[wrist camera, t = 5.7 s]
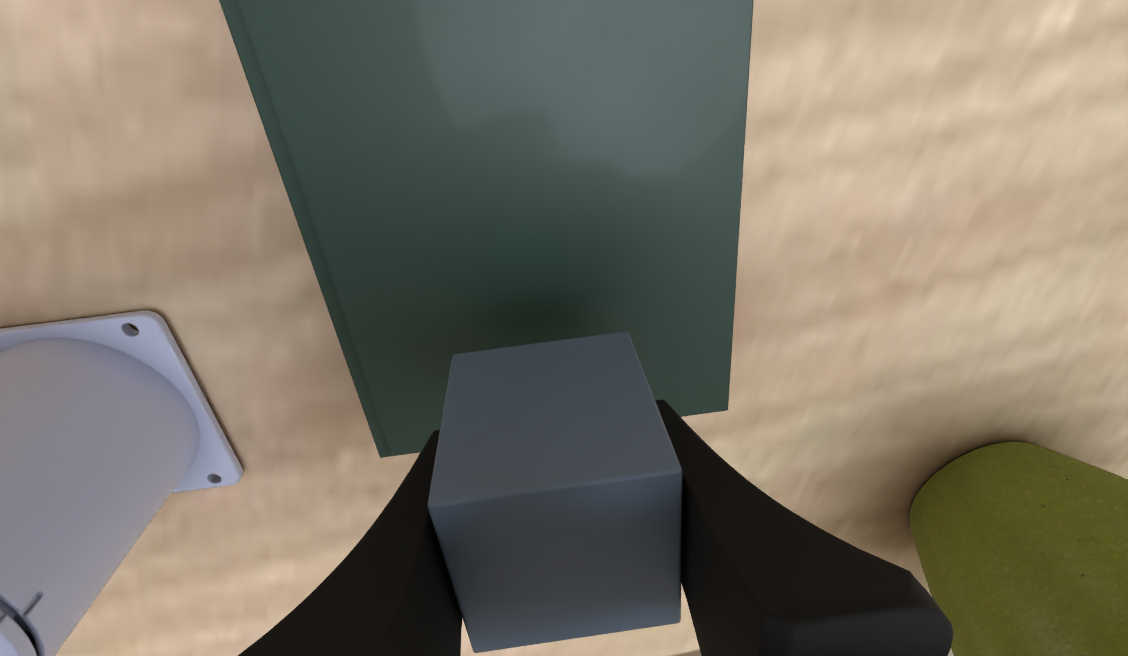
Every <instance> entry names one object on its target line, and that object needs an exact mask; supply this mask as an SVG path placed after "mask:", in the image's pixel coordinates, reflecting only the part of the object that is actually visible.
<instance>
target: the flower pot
mask: <svg viewBox="0 0 1128 656" xmlns="http://www.w3.org/2000/svg"><path fill="white" fill-rule="evenodd" d="M909 524H910V528H911V531H912V535H913V538H914V542H915V545H916V549H917V552H918V555H919V558H920V562H921V565H922V568H923V571H924V574H925V577H926V580H927V583H928V586H929V589H930V592H931V595H932V598H933V599H934V600H935V602H936V603H937V604H938V606H939V607H940V609H941V610H942V611H943V613H944V614H945V615H946V617H947V618H948V619H949V621H950V622H951V625H952V628H953V632H954V635H953V640H952V644H951V649H952V652H953V654H954V656H1128V479H1125V478H1123V477H1121V476H1118V475H1116V474H1113V473H1111V472H1108V471H1106V470H1103V469H1101V468H1098V467H1095V466H1093V465H1090V464H1087V463H1085V462H1082V461H1079V460H1077V459H1074V458H1071V457H1069V456H1066V455H1063V454H1061V453H1058V452H1056V451H1053V450H1050V449H1047V448H1044V447H1041V446H1039V445H1036V444H1032V443H1026V442H1003V443H996V444H992V445H988V446H985V447H982V448H979V449H976V450H973V451H971V452H969V453H967V454H965V455H962V456H960V457H959V458H957V459H955V460H953V461H952V462H950V463H949V464H947V465H946V466H945V467H943V468H942V469H940V470H939V471H938V472H936V473H935V474H934V475H933V476H932V477H931V478H930V479H929V480H928V481H927V482H926V483H925V484H924V486H923V487H922V488H921V489H920V491H919V492H918V493H917V495H916V497H915V499H914V500H913V503H912V506H911V508H910V513H909Z"/></svg>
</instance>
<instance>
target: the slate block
mask: <svg viewBox="0 0 1128 656" xmlns="http://www.w3.org/2000/svg"><path fill="white" fill-rule="evenodd" d="M428 509H429V512H430V515H431V519H432V522H433V525H434V528H435V531H436V534H437V538H438V541H439V544H440V547H441V550H442V554H443V557H444V560H445V563H446V566H447V569H448V573H449V576H450V579H451V582H452V585H453V588H454V592H455V595H456V598H457V601H458V604H459V608H460V611H461V614H462V617H463V620H464V623H465V627H466V630H467V633H468V636H469V639H470V642H471V646H472V649H473V652H475V653H479V652H486V651H493V650H500V649H506V648H513V647H520V646H527V645H533V644H540V643H547V642H554V641H560V640H567V639H574V638H581V637H587V636H594V635H601V634H608V633H614V632H621V631H628V630H635V629H641V628H648V627H655V626H662V625H668V624H675V623H679V622H680V620H681V533H682V469H681V466H680V463H679V461H678V458H677V456H676V453H675V451H674V448H673V445H672V443H671V440H670V438H669V435H668V433H667V430H666V427H665V425H664V422H663V420H662V417H661V415H660V412H659V409H658V407H657V404H656V402H655V399H654V397H653V394H652V391H651V389H650V386H649V384H648V381H647V379H646V376H645V373H644V371H643V368H642V366H641V363H640V361H639V358H638V355H637V353H636V350H635V348H634V345H633V343H632V340H631V338H630V335H629V333H628V332H619V333H611V334H604V335H596V336H588V337H581V338H573V339H566V340H558V341H551V342H543V343H535V344H528V345H520V346H513V347H505V348H497V349H490V350H482V351H475V352H467V353H460V354H454V355H453V356H452V361H451V367H450V373H449V379H448V385H447V391H446V397H445V403H444V409H443V415H442V421H441V427H440V433H439V439H438V445H437V451H436V457H435V463H434V469H433V475H432V481H431V487H430V493H429V499H428Z"/></svg>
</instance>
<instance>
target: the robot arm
mask: <svg viewBox="0 0 1128 656" xmlns="http://www.w3.org/2000/svg"><path fill="white" fill-rule="evenodd" d="M129 323H131V324H133V325H135V326H136V327H137V328H138V331H136V330H134V329H132V328H131V327H130V326H129ZM655 402H656V404H657V407H658V409H659V412H660V415H661V417H662V420H663V422H664V425H665V427H666V430H667V433H668V435H669V438H670V440H671V443H672V445H673V448H674V451H675V453H676V456H677V458H678V461H679V463H680V466H681V469H682V533H681V583H682V586H683V589H684V592H685V595H686V599H687V602H688V606H689V610H690V613H691V617H692V621H693V625H694V628H695V632H696V636H697V639H698V643H699V647H700V651H701V655H702V656H947V655H948V653H949V651H950V648H951V644H952V640H953V635H954V632H953V628H952V625H951V622H950V621H949V619H948V618H947V617H946V615H945V614H944V613H943V611H942V610H941V609H940V607H939V606H938V604H937V603H936V602H935V600H934V599H933V598H932V597H931V595H930V594H929V593H928V592H927V590H926V589H925V588H924V587H923V586H922V585H921V584H920V583H919V582H918V580H917V579H916V578H915V577H914V576H913V575H912V573H911V572H910V571H908V570H906V569H904V568H901V567H899V566H897V565H895V564H892V563H890V562H888V561H885V560H883V559H881V558H879V557H876V556H874V555H872V554H870V553H867V552H865V551H863V550H861V549H859V548H857V547H855V546H853V545H851V544H849V543H847V542H845V541H843V540H841V539H839V538H837V537H835V536H833V535H831V534H829V533H827V532H826V531H824V530H822V529H820V528H819V527H817V526H815V525H813V524H812V523H810V522H808V521H807V520H805V519H803V518H802V517H800V516H798V515H797V514H795V513H793V512H792V511H790V510H788V509H787V508H785V507H784V506H782V505H781V504H779V503H778V502H776V501H775V500H773V499H772V498H771V497H769V496H768V495H767V494H765V493H764V492H762V491H761V490H760V489H758V488H757V487H756V486H754V485H753V484H752V483H751V482H749V481H748V480H747V479H746V478H744V477H743V476H742V475H741V474H739V473H738V472H737V471H736V470H735V469H734V468H732V467H731V466H730V465H729V464H728V463H727V462H725V461H724V460H723V459H722V458H721V457H720V456H719V455H718V454H717V453H716V452H715V451H714V450H712V449H711V448H710V447H709V446H708V445H707V444H706V443H705V442H704V441H703V440H702V439H701V438H700V437H699V436H698V435H697V434H696V433H695V432H694V431H693V430H692V429H691V428H690V427H689V426H688V425H687V423H686V422H685V421H684V420H683V419H682V418H681V417H680V416H679V415H678V414H677V412H676V411H675V410H674V409H673V408H672V407H671V406H670V404H669V403H668V402H667V401H665V400H664V399H662V400H655ZM439 433H440V430H434V431H433V433H432V434H431V435H430V437H429V439H428V441H427V442H426V444H425V446H424V448H423V449H422V451H421V453H420V455H419V456H418V458H417V460H416V461H415V463H414V465H413V466H412V468H411V470H410V471H409V473H408V474H407V476H406V477H405V479H404V480H403V482H402V484H401V485H400V487H399V488H398V490H397V491H396V493H395V494H394V496H393V497H392V499H391V500H390V502H389V503H388V504H387V506H386V507H385V508H384V510H383V511H382V513H381V514H380V515H379V517H378V518H377V520H376V521H375V522H374V524H373V525H372V526H371V528H370V529H369V530H368V531H367V533H366V534H365V535H364V536H363V538H362V539H361V540H360V541H359V543H358V544H357V545H356V546H355V547H354V548H353V550H352V551H351V552H350V553H349V554H348V555H347V557H346V558H345V559H344V560H343V561H342V562H341V563H340V564H339V565H338V566H337V567H336V569H335V570H334V571H333V572H332V573H331V574H330V575H329V576H328V577H327V578H326V579H325V580H324V581H323V582H322V583H321V584H320V585H319V586H318V587H317V588H316V589H315V590H314V591H313V592H312V593H311V594H310V595H309V596H308V597H307V598H306V599H305V600H304V601H303V602H301V603H300V604H299V605H298V606H297V607H296V608H295V609H294V610H293V611H292V612H290V613H289V614H288V615H287V616H286V617H285V618H284V619H282V620H281V621H280V622H279V623H278V624H277V625H276V626H274V627H273V628H272V629H271V630H270V631H268V632H267V633H266V634H265V635H264V636H262V637H261V638H260V639H259V640H257V641H256V642H255V643H254V644H252V645H251V646H250V647H248V648H247V649H246V650H245V651H243V652H242V653H241V654H239V655H238V656H460V652H461V627H462V614H461V611H460V608H459V604H458V601H457V598H456V595H455V592H454V588H453V585H452V582H451V579H450V576H449V573H448V569H447V566H446V563H445V560H444V557H443V554H442V550H441V547H440V544H439V541H438V538H437V534H436V531H435V528H434V525H433V522H432V519H431V515H430V512H429V509H428V499H429V493H430V487H431V481H432V475H433V469H434V463H435V457H436V451H437V445H438V439H439ZM214 474H216V475H219V476H216V475H214ZM242 476H243V469H242V467H241V465H240V463H239V461H238V459H237V457H236V456H235V454H234V452H233V450H232V448H231V446H230V444H229V442H228V440H227V438H226V436H225V435H224V433H223V431H222V429H221V427H220V425H219V423H218V421H217V419H216V417H215V415H214V414H213V412H212V410H211V408H210V406H209V404H208V402H207V400H206V398H205V396H204V394H203V393H202V391H201V389H200V387H199V385H198V383H197V381H196V379H195V377H194V375H193V374H192V372H191V370H190V368H189V366H188V364H187V362H186V360H185V358H184V356H183V354H182V353H181V351H180V349H179V347H178V345H177V343H176V341H175V339H174V337H173V335H172V333H171V332H170V330H169V328H168V326H167V324H166V322H165V320H164V319H163V318H162V317H161V316H160V315H158V314H157V313H155V312H152V311H136V312H128V313H120V314H112V315H104V316H97V317H89V318H81V319H73V320H65V321H57V322H49V323H41V324H33V325H25V326H18V327H10V328H2V329H0V656H55V655H56V653H57V652H58V651H59V649H60V648H61V646H62V645H63V644H64V642H65V641H66V639H67V638H68V637H69V635H70V634H71V632H72V631H73V630H74V628H75V627H76V625H77V624H78V623H79V621H80V620H81V618H82V617H83V616H84V614H85V613H86V611H87V610H88V609H89V607H90V606H91V604H92V603H93V602H94V600H95V599H96V597H97V596H98V595H99V593H100V592H101V590H102V589H103V588H104V586H105V585H106V583H107V582H108V581H109V579H110V578H111V576H112V575H113V574H114V572H115V571H116V569H117V568H118V567H119V565H120V564H121V562H122V561H123V560H124V558H125V557H126V555H127V554H128V553H129V551H130V550H131V548H132V547H133V546H134V544H135V543H136V541H137V540H138V539H139V537H140V536H141V534H142V533H143V532H144V530H145V529H146V527H147V526H148V525H149V523H150V522H151V520H152V519H153V518H154V516H155V515H156V513H157V512H158V511H159V509H160V508H161V506H162V505H163V504H164V502H165V501H166V499H167V498H168V497H169V495H170V494H171V493H177V492H184V491H191V490H199V489H206V488H213V487H221V486H228V485H233V484H237V483H238V482H239V481H240V479H241V477H242Z"/></svg>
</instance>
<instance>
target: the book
mask: <svg viewBox="0 0 1128 656" xmlns="http://www.w3.org/2000/svg"><path fill="white" fill-rule="evenodd" d="M219 1H220V4H221V6H222V9H223V12H224V15H225V18H226V21H227V24H228V26H229V29H230V32H231V35H232V38H233V41H234V43H235V46H236V49H237V52H238V55H239V58H240V60H241V63H242V66H243V69H244V72H245V75H246V78H247V80H248V83H249V86H250V89H251V92H252V95H253V97H254V100H255V103H256V106H257V109H258V112H259V114H260V117H261V120H262V123H263V126H264V129H265V132H266V134H267V137H268V140H269V143H270V146H271V149H272V151H273V154H274V157H275V160H276V163H277V166H278V169H279V171H280V174H281V177H282V180H283V183H284V186H285V188H286V191H287V194H288V197H289V200H290V203H291V205H292V208H293V211H294V214H295V217H296V220H297V223H298V225H299V228H300V231H301V234H302V237H303V240H304V242H305V245H306V248H307V251H308V254H309V257H310V259H311V262H312V265H313V268H314V271H315V274H316V277H317V279H318V282H319V285H320V288H321V291H322V294H323V296H324V299H325V302H326V305H327V308H328V311H329V314H330V316H331V319H332V322H333V325H334V328H335V331H336V333H337V336H338V339H339V342H340V345H341V348H342V350H343V353H344V356H345V359H346V362H347V365H348V368H349V370H350V373H351V376H352V379H353V382H354V385H355V387H356V390H357V393H358V396H359V399H360V402H361V404H362V407H363V410H364V413H365V416H366V419H367V422H368V424H369V427H370V430H371V433H372V436H373V439H374V441H375V444H376V447H377V450H378V453H379V456H380V458H382V457H389V456H396V455H404V454H411V453H418V452H421V451H422V449H423V448H424V446H425V444H426V442H427V441H428V439H429V437H430V435H431V434H432V433H433V431H434V430H440V427H441V421H442V415H443V409H444V403H445V397H446V391H447V385H448V379H449V373H450V367H451V361H452V356H453V355H454V354H460V353H467V352H475V351H482V350H490V349H497V348H505V347H513V346H520V345H528V344H535V343H543V342H551V341H558V340H566V339H573V338H581V337H588V336H596V335H604V334H611V333H619V332H628V333H629V335H630V338H631V340H632V343H633V345H634V348H635V350H636V353H637V355H638V358H639V361H640V363H641V366H642V368H643V371H644V373H645V376H646V379H647V381H648V384H649V386H650V389H651V391H652V394H653V397H654V399H655V400H662V399H664V400H665V401H667V402H668V403H669V404H670V406H671V407H672V408H673V409H674V410H675V411H676V412H677V414H678V415H679V416H680V417H682V416H689V415H697V414H704V413H711V412H719V411H726V410H728V400H729V384H730V368H731V352H732V336H733V320H734V304H735V288H736V272H737V256H738V240H739V224H740V208H741V192H742V176H743V160H744V144H745V128H746V112H747V95H748V79H749V63H750V47H751V31H752V15H753V0H219Z"/></svg>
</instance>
